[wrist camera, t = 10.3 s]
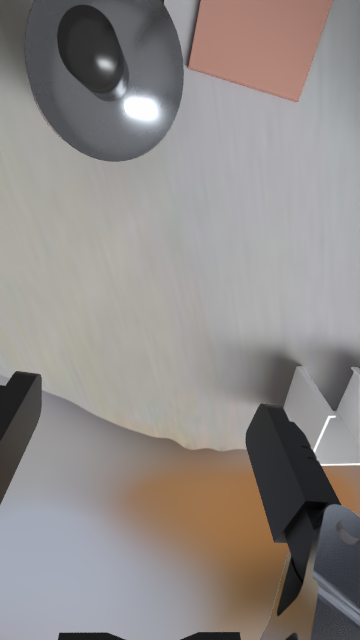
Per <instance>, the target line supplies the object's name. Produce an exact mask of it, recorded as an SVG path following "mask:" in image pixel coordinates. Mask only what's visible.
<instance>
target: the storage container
mask: <svg viewBox="0 0 360 640" xmlns="http://www.w3.org/2000/svg"><path fill="white" fill-rule="evenodd" d="M351 369H352V370H353V371H354V373H353V375H352V377H351V379H350V381H349V384H348V386H347V388H346V390H345V393H344V395H343V397H342V399H341V402H340V404H339V406H338V408H337V410H336V411H333V410H332V409H331V407H330V406H329V404H328V403H327V401H326V400H325V398H324V397H323V395H322V394H321V392H320V391H319V389H318V388H317V386H316V385H315V383H314V382H313V380H312V379H311V377H310V376H309V374H308V373H307V371H306V370H305V368H304V367H303V366H297V367H296V370H295V373H294V376H293V379H292V382H291V385H290V389H289V392H288V395H287V398H286V401H285V404H284V407H283V409H284V410H285V412H286V415H287V417H288V419H289V421H291V422H294V423H295V424H296V425H297V426H298V427H299V428H300V429H301V430H302V431H303V433H304V434H305V436H306V438H307V439H308V441H309V443H310V445H311V449H313V451H314V453H315V455H316V457H317V460H318V461H319V463H320V465H360V368H359V367H352V368H351Z"/></svg>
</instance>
